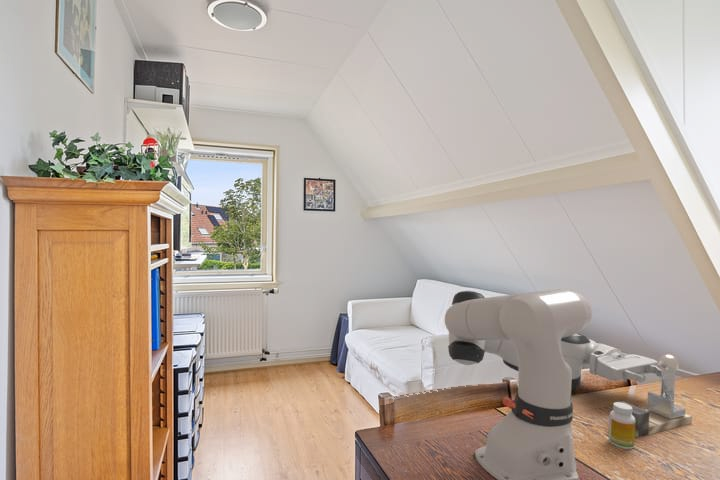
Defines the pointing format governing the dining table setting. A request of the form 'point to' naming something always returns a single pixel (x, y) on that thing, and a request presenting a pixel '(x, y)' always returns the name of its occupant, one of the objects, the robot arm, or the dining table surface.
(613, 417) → the supplement bottle
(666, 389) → the press slide
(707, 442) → the dining table surface
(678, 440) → the dining table surface
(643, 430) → the press base
